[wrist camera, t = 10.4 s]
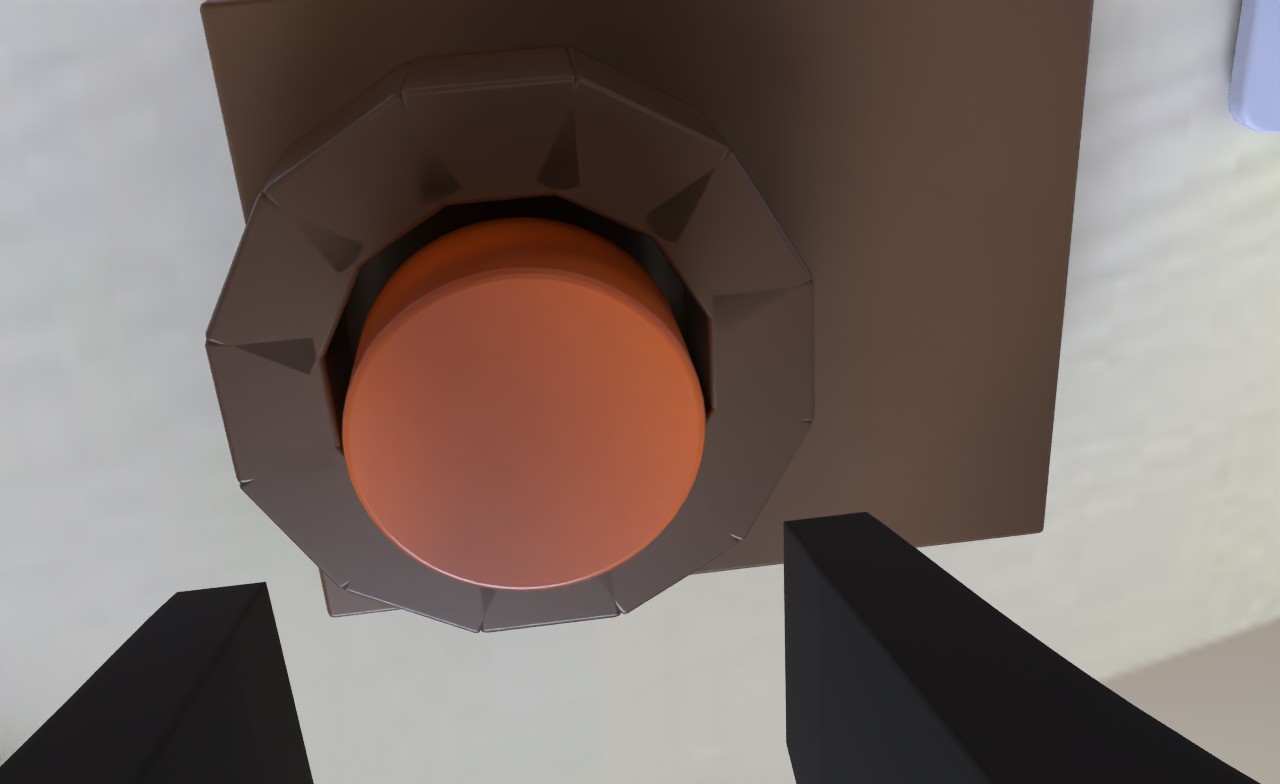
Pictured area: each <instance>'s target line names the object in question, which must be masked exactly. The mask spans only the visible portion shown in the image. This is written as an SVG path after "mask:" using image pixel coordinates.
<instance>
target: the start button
mask: <svg viewBox="0 0 1280 784" xmlns="http://www.w3.org/2000/svg"><path fill="white" fill-rule="evenodd" d="M705 437H706V414H705V405H704V397H703V393H702V390H701V386H700V382H699V379H698V376H697V373H696V370H695V368H694V365H693V363H692V360H691V357H690V355H689V352H688V350H687V347H686V344H685V342H684V339H683V337H682V334H681V332H680V329H679V326H678V324H677V321H676V319H675V316H674V314H673V312H672V309H671V307H670V305H669V302H668V300H667V299H666V297H665V295H664V294H663V292H662V291H661V289H660V287H659V286H658V284H657V283H656V281H655V280H654V279H653V278H652V277H651V275H650V274H649V273H648V272H647V271H646V269H645V268H644V267H643V266H642V265H641V264H640V263H638V262H637V261H636V260H635V259H634V258H633V257H632V256H631V255H630V254H629V253H627V252H626V251H624V250H623V249H621V248H620V247H619V246H617V245H616V244H614V243H613V242H611V241H610V240H608V239H606V238H604V237H602V236H600V235H598V234H596V233H594V232H592V231H589V230H587V229H584V228H581V227H578V226H576V225H573V224H569V223H565V222H561V221H556V220H552V219H544V218H533V217H511V218H500V219H493V220H487V221H482V222H478V223H475V224H471V225H468V226H465V227H461V228H459V229H457V230H454V231H452V232H450V233H447V234H445V235H443V236H441V237H439V238H437V239H436V240H434V241H432V242H431V243H429V244H427V245H426V246H424V247H422V248H421V249H420V250H418V251H417V252H416V253H415V254H413V255H412V256H411V257H410V258H408V259H407V260H406V261H405V262H404V263H403V264H402V265H401V266H400V267H399V268H398V269H397V270H396V271H395V272H394V273H393V274H392V275H391V277H390V278H389V279H388V281H387V282H386V283H385V285H384V286H383V288H382V289H381V290H380V292H379V293H378V295H377V297H376V299H375V301H374V302H373V304H372V306H371V308H370V310H369V312H368V315H367V318H366V321H365V323H364V326H363V329H362V332H361V336H360V340H359V345H358V349H357V353H356V357H355V361H354V365H353V369H352V373H351V378H350V382H349V386H348V390H347V394H346V400H345V405H344V410H343V419H342V442H343V451H344V458H345V462H346V466H347V470H348V473H349V477H350V480H351V482H352V484H353V487H354V489H355V491H356V494H357V496H358V498H359V500H360V501H361V503H362V505H363V506H364V508H365V510H366V511H367V513H368V514H369V516H370V517H371V519H372V520H373V521H374V522H375V523H376V525H377V526H378V527H379V528H380V530H381V531H382V532H383V533H384V534H385V535H386V536H387V537H388V538H389V539H390V540H391V541H392V542H393V543H394V544H395V545H396V546H397V547H398V548H399V549H401V550H402V551H403V552H405V553H406V554H407V555H409V556H410V557H412V558H413V559H414V560H416V561H417V562H419V563H421V564H422V565H424V566H426V567H428V568H430V569H432V570H433V571H435V572H437V573H439V574H442V575H444V576H447V577H449V578H452V579H454V580H457V581H460V582H464V583H467V584H471V585H475V586H478V587H485V588H491V589H497V590H512V591H531V590H545V589H551V588H557V587H562V586H568V585H571V584H574V583H578V582H581V581H585V580H588V579H590V578H593V577H595V576H598V575H600V574H603V573H605V572H607V571H609V570H611V569H613V568H615V567H617V566H618V565H620V564H622V563H624V562H626V561H627V560H629V559H630V558H631V557H633V556H634V555H636V554H637V553H638V552H640V551H641V550H643V549H644V548H645V547H646V546H647V545H648V544H650V543H651V542H652V541H653V540H654V539H655V538H656V537H657V536H658V535H659V534H660V533H661V532H662V531H663V530H664V529H665V527H666V526H667V525H668V524H669V523H670V522H671V520H672V519H673V518H674V517H675V515H676V514H677V512H678V511H679V509H680V507H681V506H682V504H683V503H684V501H685V500H686V498H687V496H688V494H689V492H690V490H691V488H692V486H693V483H694V481H695V479H696V476H697V473H698V470H699V467H700V464H701V461H702V456H703V450H704V444H705Z"/></svg>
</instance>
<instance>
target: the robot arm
mask: <svg viewBox="0 0 1280 784" xmlns="http://www.w3.org/2000/svg"><path fill="white" fill-rule="evenodd" d="M1229 110H1230V112H1231V114H1232V116H1233V118H1234V120H1235V121H1236V122H1238V123H1239V124H1241V125H1242V126H1244V127H1246V128H1248V129H1251V130H1253V131H1256V132H1261V133H1269V134H1271V133H1280V0H1242V7H1241V14H1240V21H1239V28H1238V34H1237V41H1236V48H1235V55H1234V62H1233V69H1232V75H1231V82H1230V89H1229ZM783 531H784V602H785V674H786V743H787V747H788V751H789V755H790V760H791V764H792V768H793V772H794V776H795V780H796V784H1260V783H1258V782H1257V781H1255V780H1253V779H1252V778H1250V777H1248V776H1246V775H1245V774H1243V773H1241V772H1240V771H1238V770H1236V769H1235V768H1233V767H1231V766H1229V765H1228V764H1226V763H1225V762H1223V761H1221V760H1220V759H1218V758H1216V757H1215V756H1213V755H1212V754H1210V753H1209V752H1207V751H1205V750H1204V749H1202V748H1201V747H1199V746H1198V745H1196V744H1194V743H1192V742H1191V741H1190V740H1188V739H1186V738H1185V737H1183V736H1182V735H1180V734H1179V733H1177V732H1175V731H1174V730H1172V729H1171V728H1169V727H1167V726H1166V725H1164V724H1162V723H1161V722H1159V721H1158V720H1156V719H1155V718H1153V717H1152V716H1150V715H1148V714H1147V713H1145V712H1143V711H1142V710H1140V709H1139V708H1137V707H1136V706H1134V705H1133V704H1131V703H1129V702H1128V701H1127V700H1125V699H1124V698H1122V697H1121V696H1119V695H1118V694H1116V693H1115V692H1113V691H1112V690H1110V689H1109V688H1107V687H1106V686H1104V685H1103V684H1101V683H1100V682H1098V681H1097V680H1095V679H1094V678H1092V677H1091V676H1089V675H1088V674H1086V673H1085V672H1083V671H1082V670H1081V669H1079V668H1078V667H1076V666H1075V665H1073V664H1072V663H1071V662H1069V661H1068V660H1066V659H1065V658H1063V657H1062V656H1060V655H1059V654H1058V653H1056V652H1055V651H1053V650H1052V649H1051V648H1049V647H1048V646H1046V645H1045V644H1044V643H1042V642H1041V641H1039V640H1038V639H1037V638H1035V637H1034V636H1032V635H1031V634H1030V633H1028V632H1027V631H1025V630H1024V629H1023V628H1021V627H1020V626H1018V625H1017V624H1016V623H1014V622H1013V621H1012V620H1010V619H1009V618H1008V617H1006V616H1005V615H1004V614H1002V613H1001V612H999V611H998V610H997V609H995V608H994V607H993V606H991V605H990V604H989V603H987V602H986V601H985V600H983V599H982V598H981V597H979V596H978V595H977V594H975V593H974V592H973V591H971V590H970V589H969V588H967V587H966V586H965V585H963V584H962V583H961V582H959V581H958V580H957V579H955V578H954V577H953V576H951V575H950V574H949V573H947V572H946V571H945V570H944V569H942V568H941V567H940V566H938V565H937V564H936V563H934V562H933V561H932V560H930V559H929V558H928V557H927V556H925V555H924V554H923V553H921V552H920V551H919V550H917V549H916V548H915V547H914V546H912V545H911V544H910V543H908V542H907V541H906V540H904V539H903V538H902V537H900V536H899V535H898V534H897V533H895V532H894V531H893V530H891V529H890V528H889V527H887V526H886V525H885V524H883V523H882V522H880V521H879V520H878V519H876V518H875V517H873V516H872V515H871V514H869V513H868V512H859V513H850V514H842V515H833V516H825V517H816V518H808V519H799V520H791V521H783ZM0 784H314V783H313V779H312V775H311V771H310V766H309V762H308V758H307V754H306V749H305V745H304V741H303V737H302V733H301V728H300V724H299V720H298V716H297V711H296V707H295V703H294V699H293V694H292V690H291V686H290V682H289V678H288V673H287V669H286V665H285V661H284V656H283V652H282V648H281V644H280V639H279V635H278V631H277V627H276V623H275V618H274V614H273V610H272V606H271V601H270V597H269V593H268V589H267V584H266V582H261V583H252V584H244V585H235V586H226V587H218V588H209V589H201V590H192V591H184V592H177V593H176V594H175V595H173V596H172V597H171V598H170V599H169V600H168V601H167V602H166V603H165V604H163V605H162V606H161V607H160V608H159V609H158V610H157V611H156V612H155V613H154V614H153V615H152V616H151V617H150V618H149V619H148V620H147V621H146V622H145V623H144V624H143V625H142V626H141V627H140V628H139V629H138V630H137V631H136V632H135V633H134V634H133V635H132V636H131V637H130V638H129V639H128V640H127V641H126V642H125V643H124V644H123V645H122V646H121V647H120V648H119V649H118V650H117V651H116V652H115V653H114V654H113V655H112V656H111V657H110V658H109V659H108V660H107V661H106V662H105V663H104V664H103V665H102V666H101V667H100V668H99V669H98V670H97V671H96V672H95V673H94V674H93V675H92V676H91V677H90V678H89V679H88V680H87V681H86V682H85V683H84V684H83V685H82V686H81V687H80V688H79V689H78V690H77V691H76V692H75V693H74V694H73V695H72V696H71V697H70V698H69V699H68V700H67V701H66V702H65V703H64V704H63V705H62V706H61V707H60V708H59V709H58V710H57V711H56V712H55V713H54V714H53V715H52V716H51V717H50V718H49V719H48V720H47V721H46V722H45V723H44V724H43V725H42V726H41V727H40V728H39V729H38V730H37V731H36V732H35V733H34V734H33V735H32V736H31V737H30V738H29V739H28V740H27V741H26V742H25V743H24V744H23V745H22V746H21V747H20V748H19V749H18V750H17V751H16V752H15V753H14V754H13V755H12V756H11V757H10V758H9V759H8V760H7V761H6V762H5V763H4V764H3V765H2V766H1V767H0Z"/></svg>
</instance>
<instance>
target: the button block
mask: <svg viewBox="0 0 1280 784" xmlns="http://www.w3.org/2000/svg"><path fill="white" fill-rule="evenodd" d="M1093 1H1094V0H207V1H205V2H204V3H202V4H201V7H200V12H201V17H202V22H203V26H204V31H205V36H206V41H207V45H208V50H209V55H210V59H211V64H212V69H213V74H214V78H215V83H216V88H217V92H218V97H219V102H220V106H221V111H222V116H223V121H224V125H225V130H226V135H227V139H228V144H229V149H230V154H231V158H232V163H233V168H234V172H235V177H236V182H237V186H238V191H239V196H240V201H241V205H242V210H243V215H244V219H245V224H246V227H245V230H244V233H243V235H242V238H241V241H240V243H239V246H238V248H237V251H236V254H235V256H234V259H233V262H232V264H231V267H230V270H229V272H228V275H227V278H226V280H225V283H224V286H223V288H222V291H221V294H220V296H219V299H218V301H217V304H216V307H215V309H214V312H213V315H212V317H211V320H210V323H209V325H208V328H207V331H206V339H207V340H206V344H205V348H206V352H207V356H208V360H209V364H210V369H211V373H212V377H213V381H214V385H215V390H216V394H217V398H218V402H219V406H220V410H221V415H222V419H223V423H224V427H225V431H226V436H227V440H228V444H229V448H230V452H231V457H232V461H233V465H234V469H235V473H236V478H237V479H238V481H239V483H240V487H241V489H242V490H243V491H244V492H245V493H246V494H247V495H248V496H249V497H250V498H251V499H252V500H253V501H254V502H255V503H256V504H257V505H258V506H259V507H260V508H261V509H262V510H263V511H264V512H265V513H266V514H267V515H268V516H269V517H270V518H271V519H272V521H273V522H274V523H275V524H276V525H277V526H278V527H279V528H280V529H281V530H282V531H283V532H284V533H285V534H286V535H287V536H288V537H289V538H290V539H291V540H292V541H293V542H294V543H295V544H296V545H297V546H298V547H299V548H300V549H301V550H302V551H303V552H304V553H305V554H306V555H307V556H308V557H309V558H310V559H311V560H312V561H313V562H314V563H315V564H316V565H317V566H318V568H319V572H320V577H321V582H322V586H323V591H324V596H325V601H326V605H327V610H328V613H329V615H330V616H331V617H341V616H349V615H358V614H366V613H374V612H383V611H391V610H399V609H403V610H406V611H410V612H413V613H416V614H419V615H422V616H425V617H428V618H431V619H434V620H437V621H440V622H443V623H447V624H450V625H453V626H456V627H459V628H462V629H465V630H468V631H471V632H474V633H478V632H480V630H481V631H482V632H486V633H487V632H495V631H504V630H512V629H520V628H528V627H536V626H545V625H553V624H561V623H569V622H577V621H586V620H594V619H602V618H610V617H616V616H619V615H620V613H623V614H627V613H629V612H630V611H632V610H634V609H635V608H637V607H638V606H640V605H642V604H643V603H645V602H646V601H648V600H650V599H651V598H653V597H654V596H656V595H658V594H659V593H661V592H662V591H664V590H666V589H667V588H669V587H670V586H672V585H674V584H675V583H677V582H678V581H680V580H682V579H683V578H685V577H687V576H688V575H692V574H700V573H708V572H717V571H725V570H733V569H742V568H750V567H758V566H767V565H775V564H783V563H784V531H783V521H791V520H799V519H808V518H816V517H825V516H833V515H842V514H850V513H859V512H868V513H869V514H871V515H872V516H873V517H875V518H876V519H878V520H879V521H880V522H882V523H883V524H885V525H886V526H887V527H889V528H890V529H891V530H893V531H894V532H895V533H897V534H898V535H899V536H900V537H902V538H903V539H904V540H906V541H907V542H908V543H910V544H911V545H912V546H914V547H915V548H917V547H925V546H934V545H942V544H950V543H959V542H967V541H976V540H984V539H992V538H1001V537H1009V536H1017V535H1026V534H1034V533H1040V532H1042V531H1043V527H1044V516H1045V506H1046V495H1047V485H1048V474H1049V464H1050V453H1051V442H1052V432H1053V421H1054V411H1055V400H1056V390H1057V379H1058V369H1059V358H1060V348H1061V337H1062V327H1063V316H1064V306H1065V295H1066V285H1067V274H1068V264H1069V253H1070V243H1071V232H1072V222H1073V211H1074V201H1075V190H1076V180H1077V169H1078V159H1079V148H1080V138H1081V127H1082V117H1083V106H1084V96H1085V85H1086V74H1087V64H1088V53H1089V43H1090V32H1091V22H1092V11H1093ZM511 217H533V218H544V219H552V220H556V221H561V222H565V223H569V224H573V225H576V226H578V227H581V228H584V229H587V230H589V231H592V232H594V233H596V234H598V235H600V236H602V237H604V238H606V239H608V240H610V241H611V242H613V243H614V244H616V245H617V246H619V247H620V248H621V249H623V250H624V251H626V252H627V253H629V254H630V255H631V256H632V257H633V258H634V259H635V260H636V261H637V262H638V263H640V264H641V265H642V266H643V267H644V268H645V269H646V271H647V272H648V273H649V274H650V275H651V277H652V278H653V279H654V280H655V281H656V283H657V284H658V286H659V287H660V289H661V291H662V292H663V294H664V295H665V297H666V299H667V300H668V302H669V305H670V307H671V309H672V312H673V314H674V316H675V319H676V321H677V324H678V326H679V329H680V332H681V334H682V337H683V339H684V342H685V344H686V347H687V350H688V352H689V355H690V357H691V360H692V363H693V365H694V368H695V370H696V373H697V376H698V379H699V382H700V386H701V390H702V393H703V397H704V405H705V414H706V437H705V444H704V450H703V456H702V461H701V464H700V467H699V470H698V473H697V476H696V479H695V481H694V483H693V486H692V488H691V490H690V492H689V494H688V496H687V498H686V500H685V501H684V503H683V504H682V506H681V507H680V509H679V511H678V512H677V514H676V515H675V517H674V518H673V519H672V520H671V522H670V523H669V524H668V525H667V526H666V527H665V529H664V530H663V531H662V532H661V533H660V534H659V535H658V536H657V537H656V538H655V539H654V540H653V541H652V542H651V543H650V544H648V545H647V546H646V547H645V548H644V549H643V550H641V551H640V552H638V553H637V554H636V555H634V556H633V557H631V558H630V559H629V560H627V561H626V562H624V563H622V564H620V565H618V566H617V567H615V568H613V569H611V570H609V571H607V572H605V573H603V574H600V575H598V576H595V577H593V578H590V579H588V580H585V581H581V582H578V583H574V584H571V585H568V586H562V587H557V588H551V589H545V590H531V591H512V590H497V589H491V588H485V587H478V586H475V585H471V584H467V583H464V582H460V581H457V580H454V579H452V578H449V577H447V576H444V575H442V574H439V573H437V572H435V571H433V570H432V569H430V568H428V567H426V566H424V565H422V564H421V563H419V562H417V561H416V560H414V559H413V558H412V557H410V556H409V555H407V554H406V553H405V552H403V551H402V550H401V549H399V548H398V547H397V546H396V545H395V544H394V543H393V542H392V541H391V540H390V539H389V538H388V537H387V536H386V535H385V534H384V533H383V532H382V531H381V530H380V528H379V527H378V526H377V525H376V523H375V522H374V521H373V520H372V519H371V517H370V516H369V514H368V513H367V511H366V510H365V508H364V506H363V505H362V503H361V501H360V500H359V498H358V496H357V494H356V491H355V489H354V487H353V484H352V482H351V480H350V477H349V473H348V470H347V466H346V462H345V458H344V451H343V442H342V419H343V410H344V405H345V400H346V394H347V390H348V386H349V382H350V378H351V373H352V369H353V365H354V361H355V357H356V353H357V349H358V345H359V340H360V336H361V332H362V329H363V326H364V323H365V321H366V318H367V315H368V312H369V310H370V308H371V306H372V304H373V302H374V301H375V299H376V297H377V295H378V293H379V292H380V290H381V289H382V288H383V286H384V285H385V283H386V282H387V281H388V279H389V278H390V277H391V275H392V274H393V273H394V272H395V271H396V270H397V269H398V268H399V267H400V266H401V265H402V264H403V263H404V262H405V261H406V260H407V259H408V258H410V257H411V256H412V255H413V254H415V253H416V252H417V251H418V250H420V249H421V248H422V247H424V246H426V245H427V244H429V243H431V242H432V241H434V240H436V239H437V238H439V237H441V236H443V235H445V234H447V233H450V232H452V231H454V230H457V229H459V228H461V227H465V226H468V225H471V224H475V223H478V222H482V221H487V220H493V219H500V218H511Z"/></svg>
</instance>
